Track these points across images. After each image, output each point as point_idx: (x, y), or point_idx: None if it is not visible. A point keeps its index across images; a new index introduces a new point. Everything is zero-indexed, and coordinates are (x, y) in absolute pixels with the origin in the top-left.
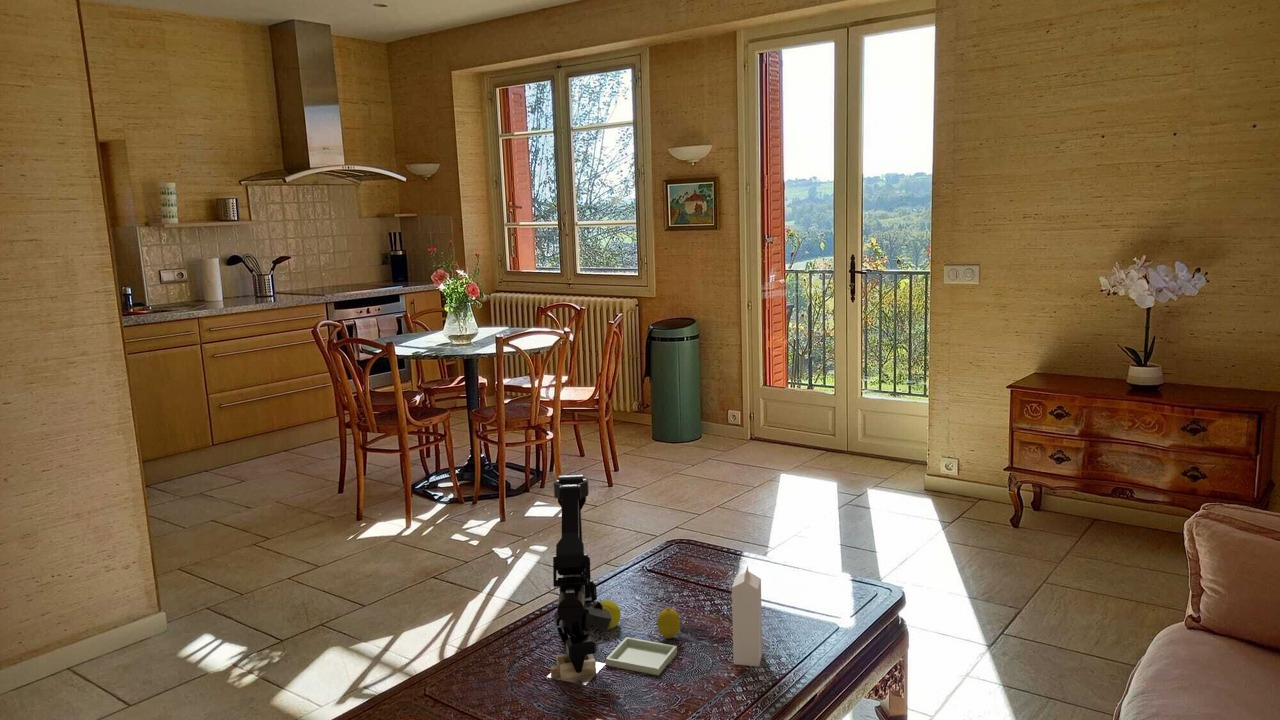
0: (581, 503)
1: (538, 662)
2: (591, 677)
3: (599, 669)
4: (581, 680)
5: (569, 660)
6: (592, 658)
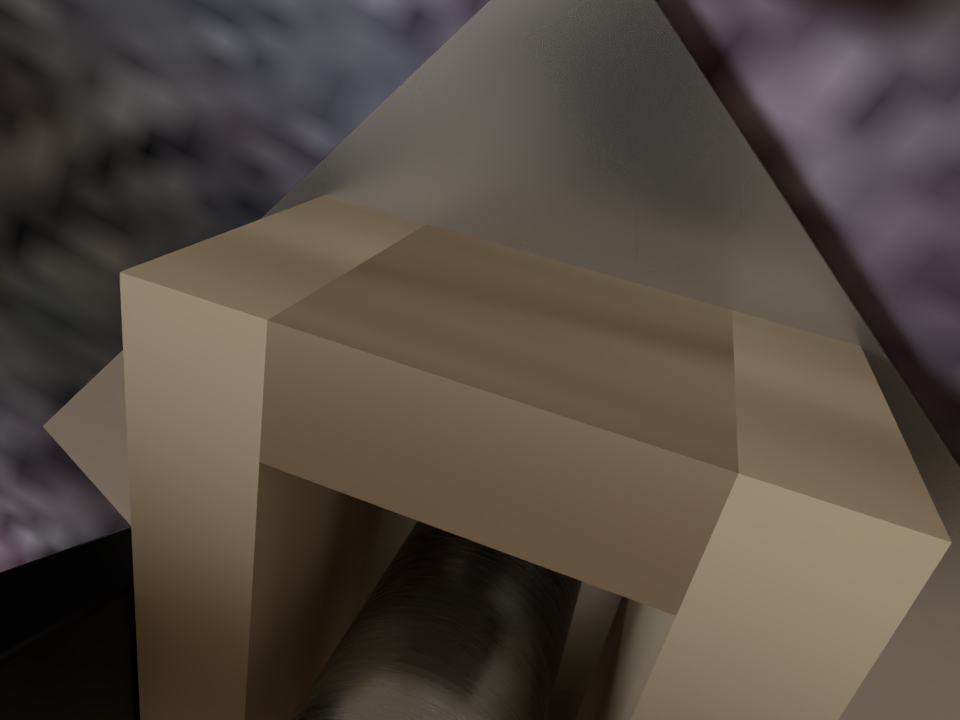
0: None
1: None
2: (952, 518)
3: (760, 199)
4: (903, 705)
5: (300, 688)
6: (695, 521)
